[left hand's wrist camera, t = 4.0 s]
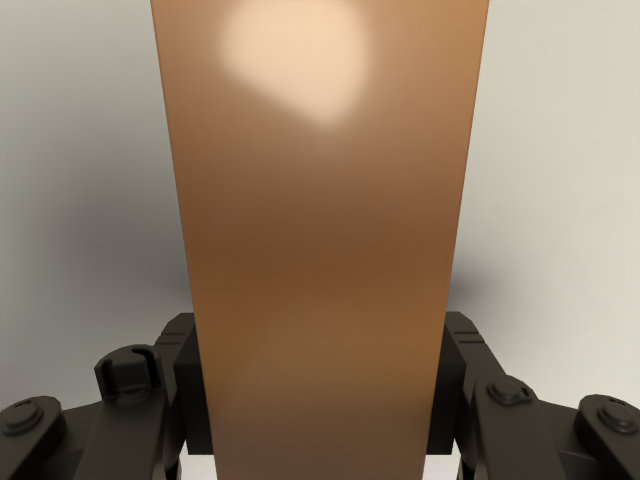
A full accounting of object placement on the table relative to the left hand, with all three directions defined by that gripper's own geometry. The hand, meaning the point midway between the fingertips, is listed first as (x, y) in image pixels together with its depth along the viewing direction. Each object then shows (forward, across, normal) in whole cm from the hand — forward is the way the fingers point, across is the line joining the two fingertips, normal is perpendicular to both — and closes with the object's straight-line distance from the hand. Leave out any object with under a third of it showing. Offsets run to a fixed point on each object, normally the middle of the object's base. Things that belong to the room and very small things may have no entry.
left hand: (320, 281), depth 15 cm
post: (+1, 0, -31) cm, 31 cm away
